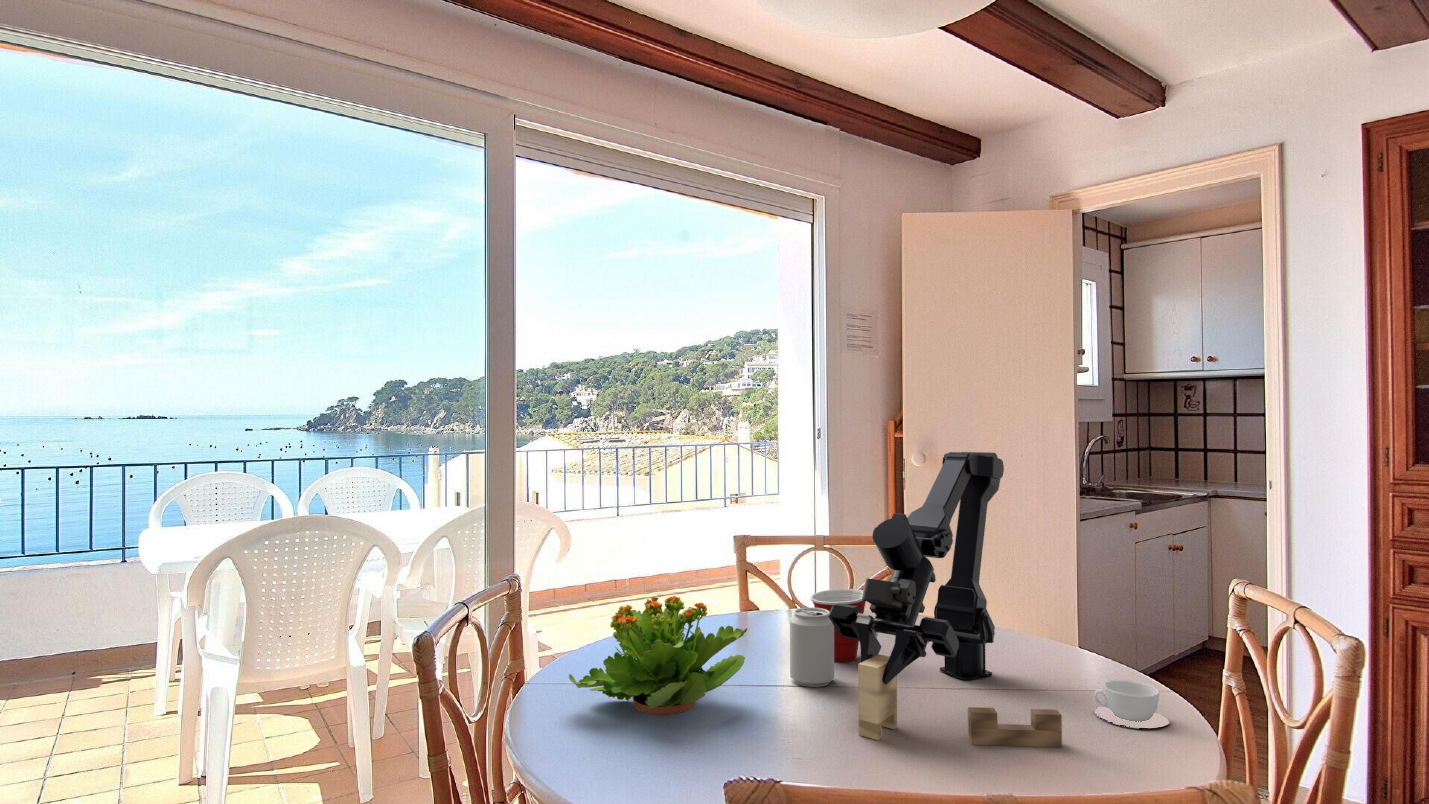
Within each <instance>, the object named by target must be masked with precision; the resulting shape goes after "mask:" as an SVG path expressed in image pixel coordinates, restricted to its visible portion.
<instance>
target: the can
mask: <svg viewBox="0 0 1429 804" xmlns="http://www.w3.org/2000/svg"><path fill="white" fill-rule="evenodd" d="M792 612H793V615H792V616H791V618H790V619H789V676H790V678H791V679H792V680H793V681H794V683H796V684H797V685H800V686H803V687H809V688H819V687H825V686H827V685H829V684H830V682H832V681H833V680H834V679H835V661H834V625H833V624H832V622H831V620H830V619H829V617H828V615H829V613H830V611H828V610H826V609H822V608H815V607H800V608H796V609H794V610H793V611H792Z"/></svg>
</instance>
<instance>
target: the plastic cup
mask: <svg viewBox="0 0 1429 804" xmlns="http://www.w3.org/2000/svg"><path fill="white" fill-rule="evenodd" d="M863 591H864V590H861V589H856V588H833V589H826V590H820V591H818V592H813V593H812V594H811V595H809V596H810V597H809V599H810V601H811V602H812V604H813V608H822V609H826V610H828V611H830V610H831V608H832V607H833V605H835V604H838V603H840V604H846V605H853V606H858V608H859V610H860V611H861V613H862V614H864V612H865V608H866V602H867V601H863V600H862V596H863ZM859 645H860V640H855V639H849V638H844V637H842V636H841V635H840V634H839V633H838V631H837V630H836V628H835V627H834V662H838V663H847V662H853V661H855V660H857V656H858V650H859Z"/></svg>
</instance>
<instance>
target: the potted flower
mask: <svg viewBox="0 0 1429 804" xmlns="http://www.w3.org/2000/svg"><path fill="white" fill-rule="evenodd" d="M649 598H650V599H649ZM649 598H647V599H646V601H645V603H643V604H644V606H645V609H643V611H642V612H641V610H640V609H639V610H636V609H633V606H631V605H630V604H626V605H625V606H623V605H621V606H620V605H619V608H618V609H617V612H615V614H614V615H612V616H611V622H610V625H609V626H610V628H612V629H613V630H614V632H613V633H612V635H613V637H614V639H615V640H616V642H617V643H619V644H618V646H619V647H620V648H621V651H622V652H621V651H620V650H619V648H618V647H616V646H614V648H615V649H616V650H617V651H615V653H614V654H613V656H610V655H607V658H605V659H604V660H603V666H605V671H604V670H603V668H602V667H600V668H599V669H598V667H592V668H590V669H589V672H588V675H584V676H583V677H582V678H581V679H579V681H578V682H577V680H576V679H575V677H574V676H573V674H572V673H569V674H568V678H569V681H571V683H573V684H574V685H575V686H576V688H578V689H581V688H590V689H589V691H592V692H593V691H594V692H602V694H603V695H605V696H608V698H613V699H614V698H615V697H616V699H617V700H619V701H622V700H624V699H625V700H626V701H629V700H631V698H632V700H633V705H634V708H635V709H637V711H639V712H641V713H644V714H651V715H655V716H656V715H658V716H660V715H663V716H664V715H665V716H666V714H667V715H676V714H680V713H685V712H686V711H688V710H689V711H690V710H691V709H692V708H693V707H694V706H695V703H696V701H698V700H700V699H702V698H703V697H705V695H706V693H708V692H711V691H714V690H715V689H717V688H719V687H720V686H722V685H723V684H724V683H726V682H727V681H728V680H730V679H732V677H733V676H735V674H737V672H739V671H740V670H741V668H742V667H743V665H744V663H745V656H744V655H742V654H736V655H734V656H733V655H730V656H728V657H727V658H726V657H724V658H723V659H722V660H721V661H717V662H716V663H715V664H714V665H710V666H709V668H708V669H707V670H705V669H703V666H704V665H705V664H706V663H707V662H708V661H709V660H710V659H712V658H713V657H714V656H715V655H717V654H718V653H719V652H720V651H722V650H723V649H725V648H726V647H727V646H729V645H731V644H732V643H734V642H736V641H737V640H738V639H740V638H741V637H743V636H744V635H745V633H747V631H748V627H746V628H745V629H742V628H736V629H734V627H733V626H732V625H727V626H726V627H724V626H723V625H721V626H719V628H718V630H717V632H716V635H715V634H714V633H713V632H710V633H708V634H707V635H706V637H705V634H704V633H703V632H702V629H701V627H700V626H699V624H700V621H701V620H702V619H703V617H707V614H708V612H707V611H708V607H707V604H705V603H704V602H698V603H694V604H693V605H694V607H692V606H688V608H687V609H685V607H686V606H684V605H685V603H684V601H682V599H681V597H679V596H676V595H673V596H669V597H666V598H665V599H664V607H665V608H664V609H663V608H662V607H663V603H661V602H659V601H658V600H659V597H657V596H649ZM684 609H685V610H684ZM682 610H684V611H682ZM680 611H682V613H680ZM695 621H696V626H695V629H694V632H693V631H691V629H692V628H693V627H694V624H692V623H693V622H695ZM686 624H688V625H687V626H688V628H685V626H686ZM685 630H687V631H686V634H685V632H684V631H685ZM690 634H691V635H690ZM689 635H690V636H689Z"/></svg>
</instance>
